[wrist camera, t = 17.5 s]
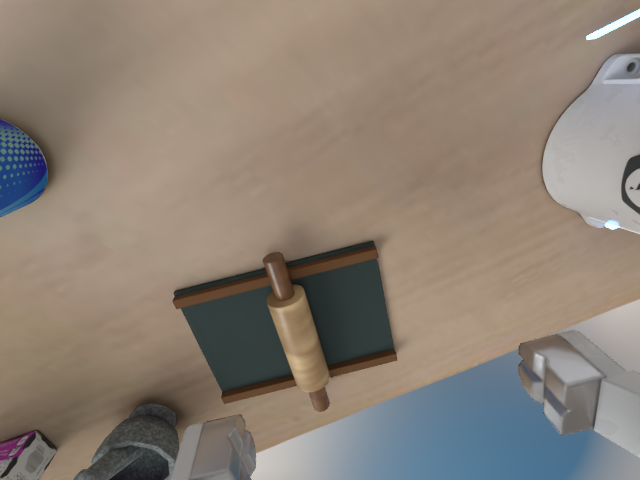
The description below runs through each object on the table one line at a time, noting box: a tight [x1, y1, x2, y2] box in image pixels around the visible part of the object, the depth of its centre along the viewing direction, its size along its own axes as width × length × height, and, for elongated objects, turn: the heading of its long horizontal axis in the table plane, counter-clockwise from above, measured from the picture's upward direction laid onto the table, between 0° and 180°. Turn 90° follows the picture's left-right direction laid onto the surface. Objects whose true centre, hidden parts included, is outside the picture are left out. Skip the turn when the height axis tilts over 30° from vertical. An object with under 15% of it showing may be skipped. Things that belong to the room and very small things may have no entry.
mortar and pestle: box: [73, 403, 179, 480], centre depth 43 cm, size 11×9×12 cm
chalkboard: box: [173, 241, 397, 404], centre depth 44 cm, size 24×18×2 cm
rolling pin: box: [263, 252, 330, 412], centre depth 42 cm, size 4×23×4 cm, turn 13°
